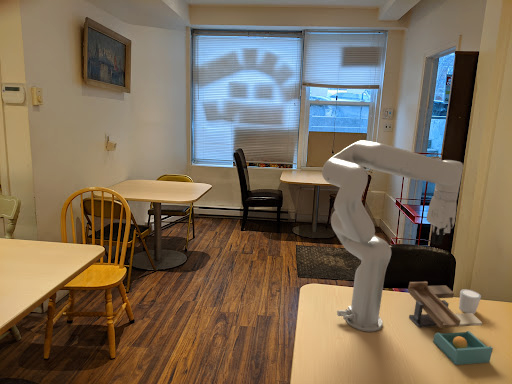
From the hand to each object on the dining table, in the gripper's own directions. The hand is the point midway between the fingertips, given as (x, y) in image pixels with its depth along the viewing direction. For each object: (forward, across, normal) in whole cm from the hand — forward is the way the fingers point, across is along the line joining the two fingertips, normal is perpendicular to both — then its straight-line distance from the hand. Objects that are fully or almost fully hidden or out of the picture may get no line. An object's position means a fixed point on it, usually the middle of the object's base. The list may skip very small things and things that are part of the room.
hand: (436, 243), depth 136 cm
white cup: (+26, +2, +16) cm, 31 cm away
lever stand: (+26, +9, -4) cm, 28 cm away
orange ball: (+24, +25, -3) cm, 34 cm away
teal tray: (+26, +26, -3) cm, 37 cm away
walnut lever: (+21, +9, 0) cm, 22 cm away
